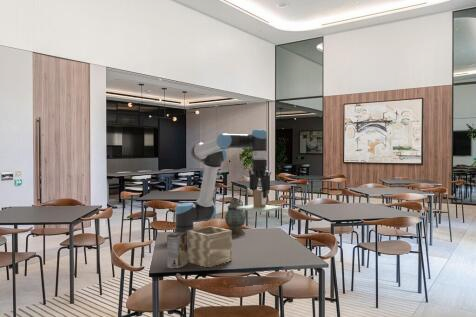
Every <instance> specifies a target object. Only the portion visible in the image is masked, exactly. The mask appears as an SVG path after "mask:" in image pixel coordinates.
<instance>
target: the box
mask: <svg viewBox="0 0 476 317" xmlns="http://www.w3.org/2000/svg"><path fill="white" fill-rule="evenodd" d="M207 232H213V233H214V234H209V235H207V234H203V233H207ZM232 237H233V236H232V230H229V229H228V228H227V229H226V228H222V227H217V226H216V227H215V226H213V225H209V226H205V227H199V228H194V229H193V230H188V231H187V263H189V264H193V265H196V266H199V265H200V266H199V267H202V266H204V267H203V268H205V267H211V268H213V267H212V266H214V267H216V266H215V265H218V266H220V265H219V264H221V265H223V264H222V263H224V264H227V263H226V262H228V263H230V262H229V261H231V262H232V261H233V260H232V259H233V254H232V253H233V250H232V249H233V246H232V244H233V239H232Z"/></svg>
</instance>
